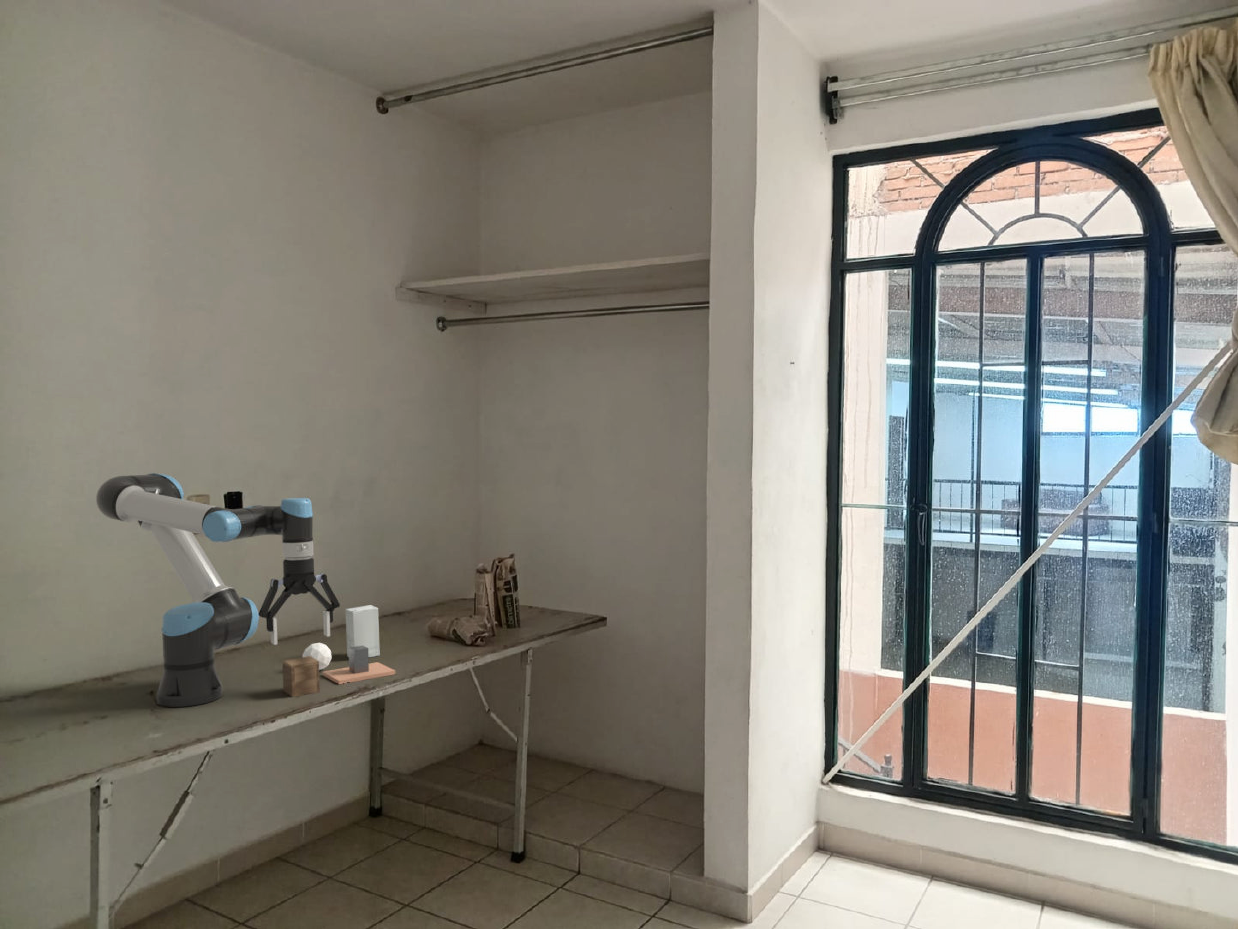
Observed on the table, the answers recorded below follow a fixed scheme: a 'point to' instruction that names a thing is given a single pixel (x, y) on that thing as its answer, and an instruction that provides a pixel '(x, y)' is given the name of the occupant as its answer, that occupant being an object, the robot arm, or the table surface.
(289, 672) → the cardboard carton
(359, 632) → the skincare box
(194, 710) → the table surface
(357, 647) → the post
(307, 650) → the ball
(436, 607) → the table surface
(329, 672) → the base plate
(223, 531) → the robot arm
